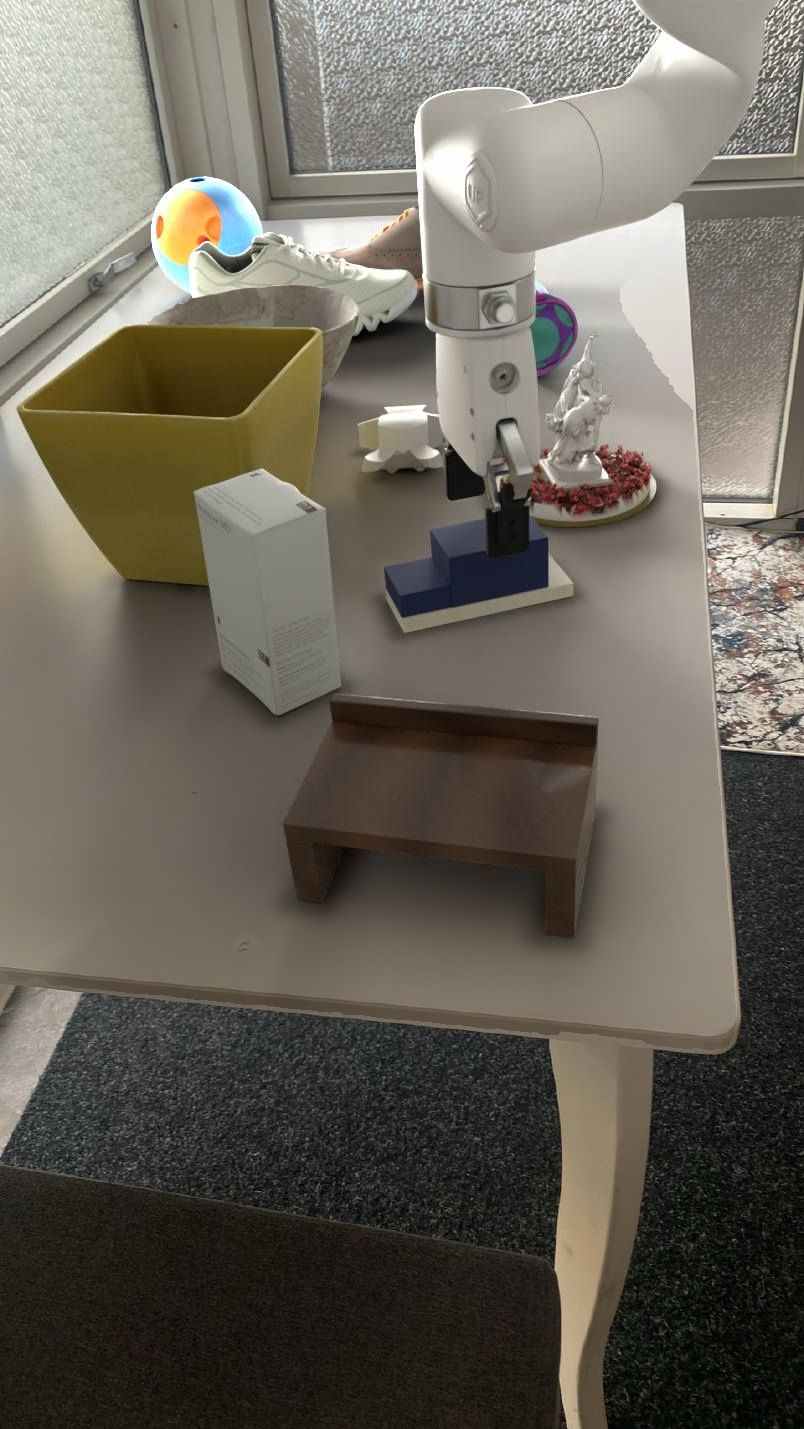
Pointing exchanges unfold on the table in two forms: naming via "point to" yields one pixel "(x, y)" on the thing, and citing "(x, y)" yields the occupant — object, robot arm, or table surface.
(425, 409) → the white boxy flared piece
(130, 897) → the table surface
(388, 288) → the running shoe
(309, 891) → the shelf
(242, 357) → the flower pot
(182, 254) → the treat dispenser ball
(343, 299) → the ceramic bowl
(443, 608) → the navy stepped block
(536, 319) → the pencil case
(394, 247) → the oxford shoe
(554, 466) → the figurine
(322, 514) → the cosmetic box
